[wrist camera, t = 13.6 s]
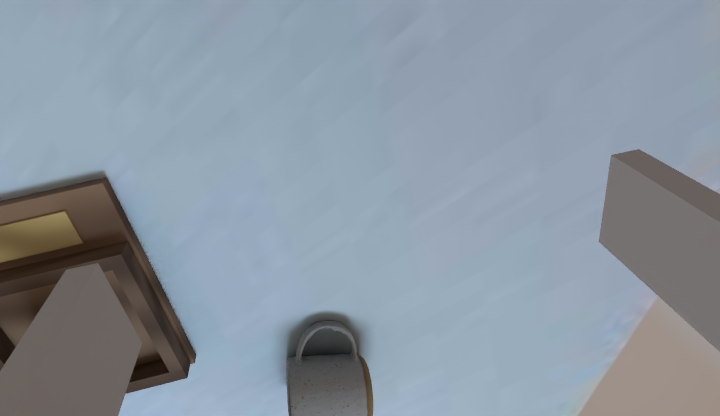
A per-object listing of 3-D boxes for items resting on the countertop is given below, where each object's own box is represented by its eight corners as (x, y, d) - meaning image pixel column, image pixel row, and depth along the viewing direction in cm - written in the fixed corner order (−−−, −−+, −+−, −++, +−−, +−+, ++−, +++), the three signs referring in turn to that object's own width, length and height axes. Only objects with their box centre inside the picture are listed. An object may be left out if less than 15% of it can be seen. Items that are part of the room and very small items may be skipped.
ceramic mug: (360, 386, 52) (373, 448, 45) (287, 394, 51) (289, 459, 44) (364, 312, 47) (379, 369, 40) (283, 319, 46) (285, 379, 39)
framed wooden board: (-91, 222, 35) (-120, 243, 33) (106, 177, 36) (93, 194, 33) (44, 393, 45) (30, 420, 42) (196, 355, 46) (191, 379, 43)
